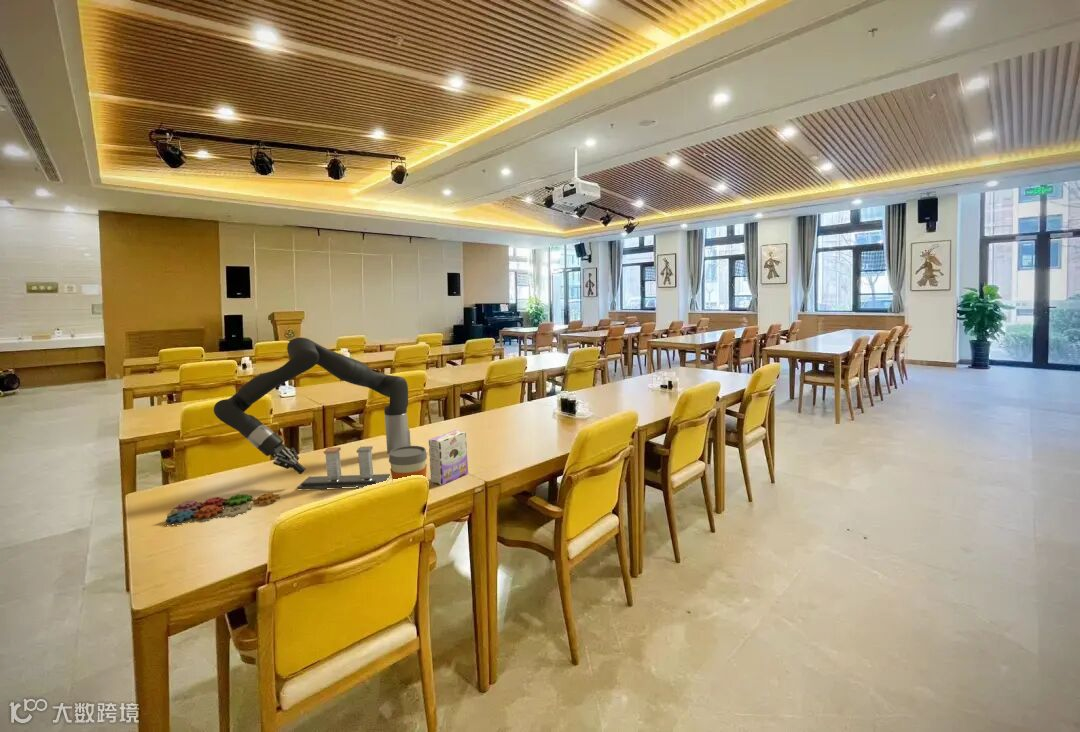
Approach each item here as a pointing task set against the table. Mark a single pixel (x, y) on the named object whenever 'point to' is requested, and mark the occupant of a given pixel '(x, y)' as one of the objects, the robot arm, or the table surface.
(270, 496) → the gear puzzle
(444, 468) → the candy box
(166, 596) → the table surface
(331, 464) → the sliding pointer
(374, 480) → the bolt plate
